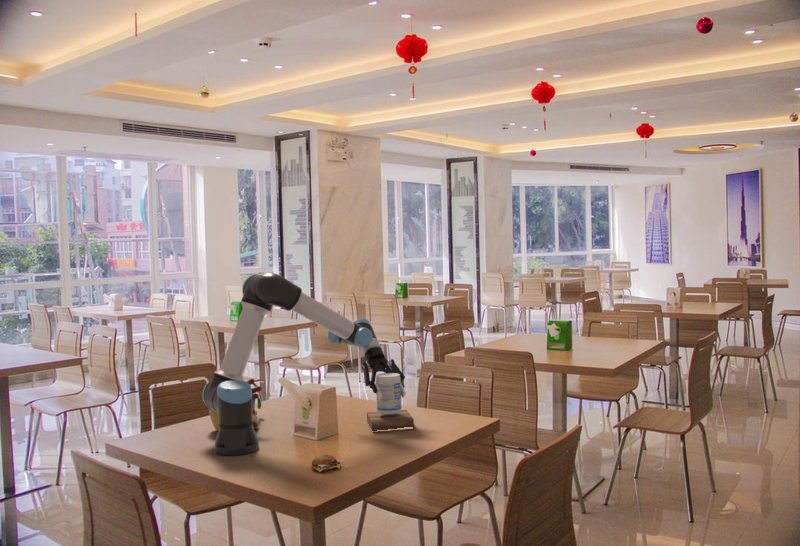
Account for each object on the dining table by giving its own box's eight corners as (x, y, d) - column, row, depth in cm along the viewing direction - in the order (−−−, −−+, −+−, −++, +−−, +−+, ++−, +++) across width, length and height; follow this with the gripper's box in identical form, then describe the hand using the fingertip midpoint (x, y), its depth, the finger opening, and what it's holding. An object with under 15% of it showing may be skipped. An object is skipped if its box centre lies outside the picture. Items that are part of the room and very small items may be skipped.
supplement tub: (400, 415, 264) (399, 376, 263) (375, 415, 264) (374, 377, 264) (402, 409, 273) (401, 372, 273) (378, 409, 274) (377, 372, 274)
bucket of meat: (207, 414, 278) (254, 398, 287) (220, 447, 269) (269, 429, 277) (203, 384, 264) (253, 368, 273) (217, 418, 255) (268, 400, 263)
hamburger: (317, 479, 209) (316, 459, 209) (302, 466, 222) (302, 448, 221) (360, 471, 215) (359, 452, 215) (343, 460, 228) (342, 442, 228)
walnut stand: (413, 429, 262) (413, 419, 262) (372, 432, 260) (371, 421, 260) (406, 419, 278) (406, 409, 278) (367, 422, 276) (366, 412, 276)
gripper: (393, 354, 287) (414, 399, 274) (345, 360, 276) (364, 406, 263) (399, 343, 282) (420, 388, 269) (350, 348, 272) (370, 395, 258)
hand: (392, 397), depth 266 cm, fingers closed on supplement tub, 9 cm apart
